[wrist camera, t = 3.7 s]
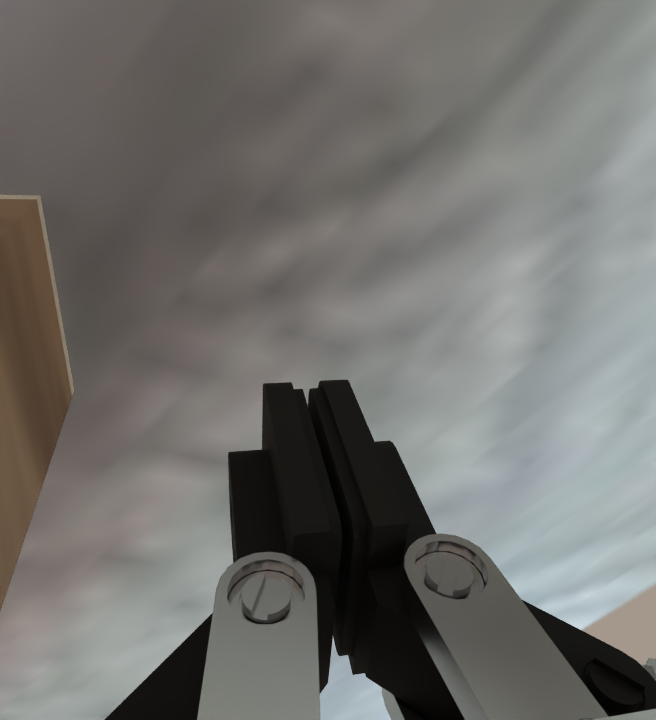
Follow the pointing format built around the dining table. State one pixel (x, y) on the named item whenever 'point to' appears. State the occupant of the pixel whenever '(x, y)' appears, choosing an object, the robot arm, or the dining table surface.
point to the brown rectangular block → (27, 370)
